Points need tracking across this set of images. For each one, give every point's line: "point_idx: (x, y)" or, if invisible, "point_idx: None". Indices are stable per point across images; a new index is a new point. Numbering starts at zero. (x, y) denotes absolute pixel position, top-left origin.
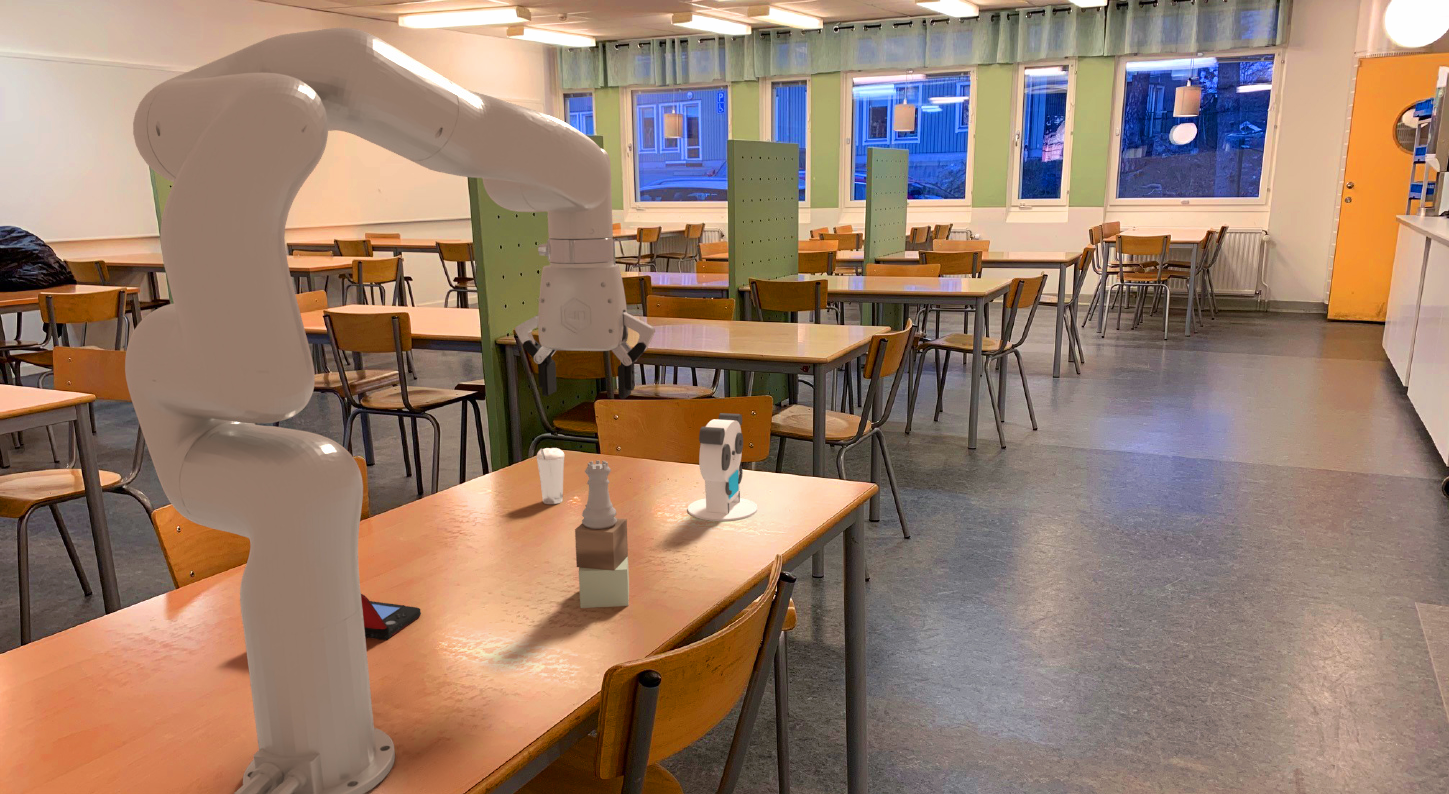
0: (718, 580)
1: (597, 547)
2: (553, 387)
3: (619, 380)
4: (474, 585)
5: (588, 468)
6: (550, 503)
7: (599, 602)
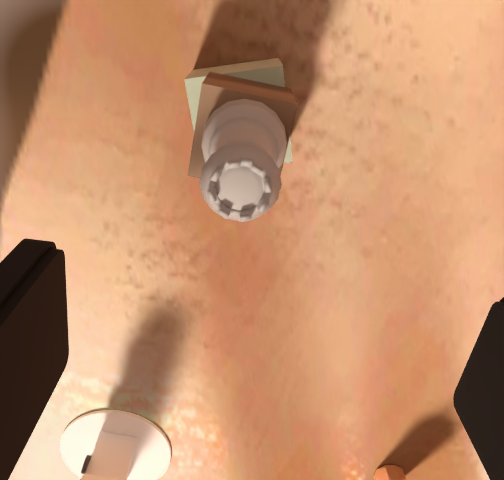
0: (57, 182)
1: (243, 85)
2: (477, 387)
3: (3, 299)
4: (482, 154)
5: (266, 169)
6: (391, 466)
7: (244, 63)
